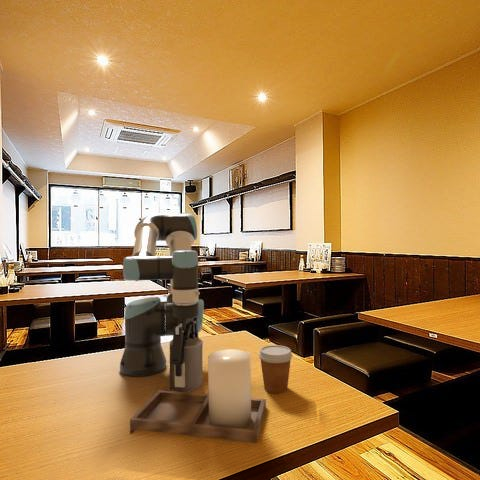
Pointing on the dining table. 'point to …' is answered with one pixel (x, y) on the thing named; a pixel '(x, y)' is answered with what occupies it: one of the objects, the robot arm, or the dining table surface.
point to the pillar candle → (189, 366)
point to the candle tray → (192, 417)
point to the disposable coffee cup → (275, 368)
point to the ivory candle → (229, 388)
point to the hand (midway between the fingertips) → (186, 378)
